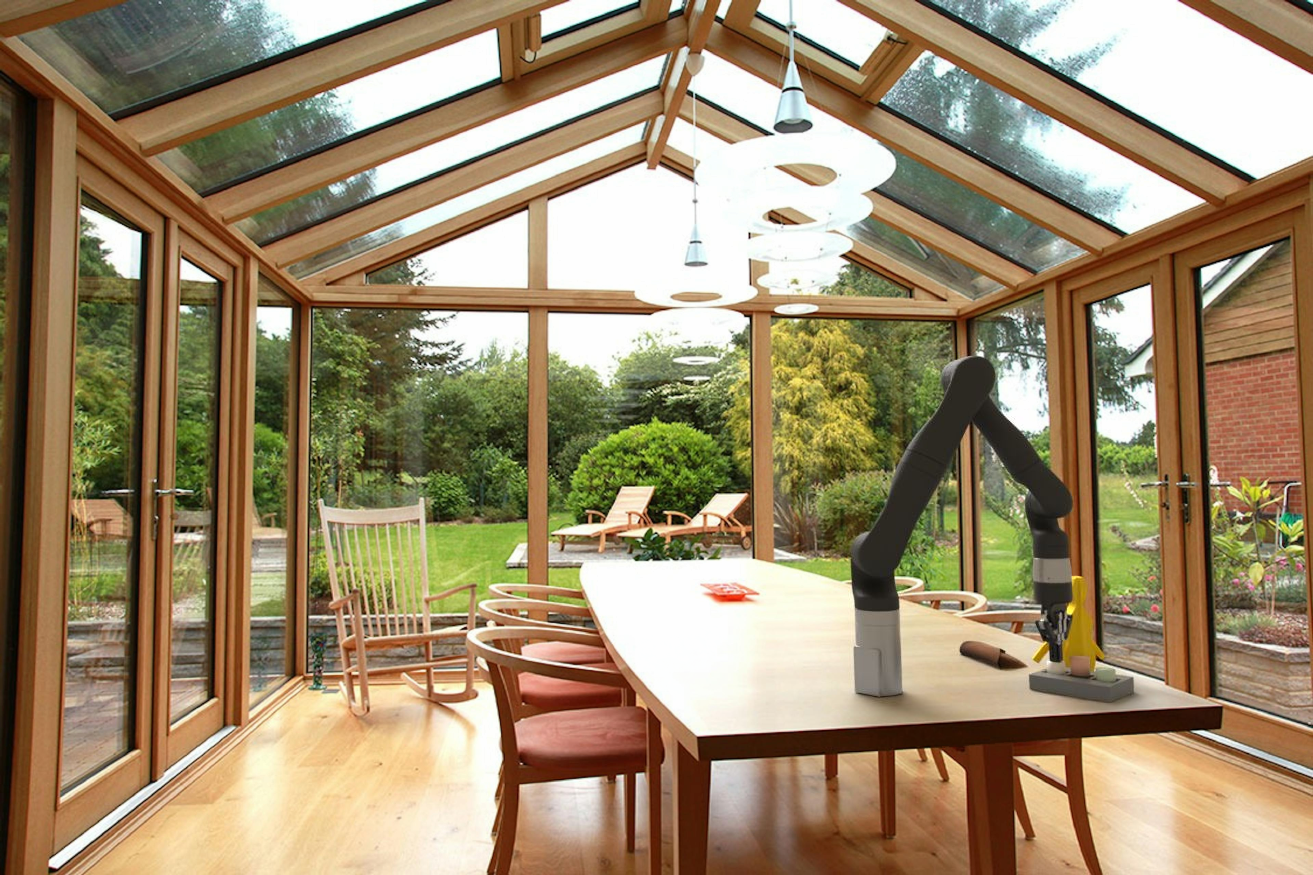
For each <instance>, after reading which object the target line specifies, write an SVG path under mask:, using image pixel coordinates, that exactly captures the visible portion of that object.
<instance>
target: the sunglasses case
mask: <svg viewBox="0 0 1313 875" xmlns="http://www.w3.org/2000/svg"><path fill="white" fill-rule="evenodd" d="M959 653H960V655H962V656H963V655H965V656H971V657H974V658H976V659H979V660H982V661H984V662H986V663H988V664H991V665H994V666H996V667H998V668H999V669H1000V670H1005V669H1006V670H1009V669H1021V668H1029V666H1028V665H1027V664H1026V663H1024V662H1023V661H1021V660H1020V659H1019V658H1017V657H1015V656H1013V655H1010V654H1009V653H1007V652H1006V650H1004V649H1003V648H1000V647H995V646H993V645H990V644H988V643H985V642H981V641H975V640H966V641H963V642H962V643H961V644H960V646H959Z"/></svg>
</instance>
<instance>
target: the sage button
mask: <svg viewBox="0 0 1313 875" xmlns="http://www.w3.org/2000/svg"><path fill="white" fill-rule="evenodd" d="M1094 670H1095V671H1096V681H1103V682H1109V683H1114V682H1116V669H1115V668H1113V667H1108V666H1107V667H1105V666H1102V667H1101V666H1098V667H1095V669H1094Z"/></svg>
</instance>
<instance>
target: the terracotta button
mask: <svg viewBox="0 0 1313 875" xmlns="http://www.w3.org/2000/svg"><path fill="white" fill-rule="evenodd" d="M1070 666H1071V674H1072V675H1076V676H1090V660H1089V657H1087V656H1081V655H1073V656H1070Z"/></svg>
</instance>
